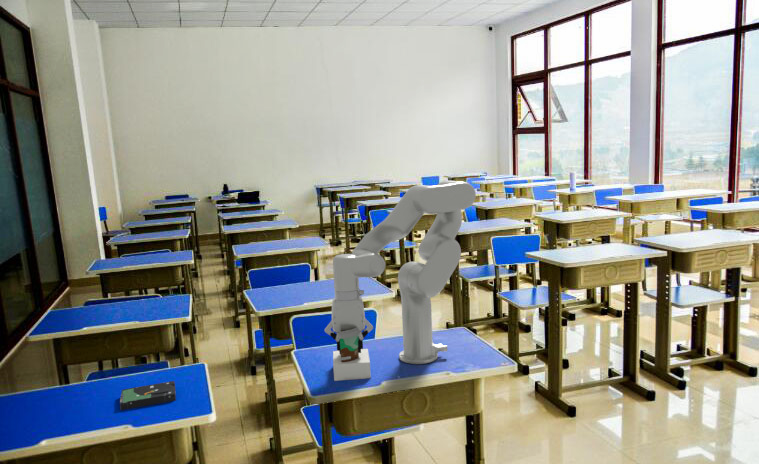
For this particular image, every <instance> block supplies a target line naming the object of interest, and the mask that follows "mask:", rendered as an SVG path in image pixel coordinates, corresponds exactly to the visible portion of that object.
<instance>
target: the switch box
mask: <svg viewBox="0 0 759 464" xmlns="http://www.w3.org/2000/svg"><path fill="white" fill-rule="evenodd" d="M332 359H333V360H332V362H333V364H332V365H333V380H334V382H337V381H338V382H339V381H350V380H351V381H352V380H363V379H371V377H372V374H371V361H370V353H369V349H368V348H363V349H361V353H359V357H358V359H355V360H353V361H349V362H341V354H340V352H339V351H337V350H335V351H334V350H333V351H332Z"/></svg>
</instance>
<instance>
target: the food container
mask: <svg viewBox="0 0 759 464" xmlns="http://www.w3.org/2000/svg"><path fill="white" fill-rule="evenodd" d="M358 334H360V331H359V329H358V328H357V327H356V328H355V329H352V330H341V331H339V339H340V350H341V362H349V361H353V360H355V359H357V358H358V357H359V349H358V341H359V336H358Z"/></svg>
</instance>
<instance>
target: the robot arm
mask: <svg viewBox="0 0 759 464" xmlns="http://www.w3.org/2000/svg"><path fill="white" fill-rule="evenodd" d="M476 195H477V194H476V190H475V188H474V187H473V185H472V184H470V183H469V182H466V181H457V180H443V181H440V182H438V184H437V185H423V184H416V185H415V184H414V185H413V186H410V188H409V189H408V190H406V192H405V194H404V195H403V196H402V197H401V198H400V200H399V201H397V202H398V203H396V205H395V206H394V208H393V209H392V210H391V212H389V214H388V215H387V216H386V217H385V218H384V219H383V220H382V221H381V222H380V223H378V224H377V225H376V226H374V227H373V228H372V229H371V230H369V231H368V232H367V233H366V234H365V235H364V236H363V237H362V239H360V241H359V242H358V243H357V245H356V246H355V248H354V249H353V251H351V253H340V254H336V255H334V257H333V259H332V269H333V286H334V298H333V299H332V301H331V320H330V322H329V323H328V324H327V326H326V327H325V328H324V333H326V334H327V335H329V336H330V337H331V338H332V339H333V340H334V341H335V342H336V351H339V352H340V354H341V350H340V339H339V331H341V330H352V329H355V328H356V327H357V328H358V329H359V331H360V334H358V336H359V341H358V349H359V353H361V349H364V344H363V342H364V341H363V340H364V339H365V338H366V337H367V335H368V334H369V333H370V332H371V331H372V330H373V329H374V326H373V324H372V323H370V322H369V320H367V318H366V316H365V315H366V314H365V307H364V306H365V305H364V301H363V298H362V295H365V290H364V289H361V288H360V279H359V278H376V277H379V276H380V275H382V274H383V272H384V271H385V269H386V261H385V259H384V258H383V257H382V256H381V255H380V252H381V251H382V249H385V247H386V246H388V245H390V244H391V243H394V242H397V241H400V240H402V239H404V238H405V237H407V236H408V235H409V234H410V233H411V231H412V230H413V229H414V227H415V225H416V224H417V223H418V222H419V221H420V219H421V218H422V217H423V215H424V214H427V215H436V216H435V219H434V220H433V223H432V224H431V226H430V228H429V229H428V231H427V232H426V234H425V235H424V237H423V238H422V240H421V242H420V244H419V245H418V255H419V257H420V258H421V259H422V260H424V261H425V262H426V263H425V264H424V263H421V262H418V261H409V262H405V263H404V264H403V265H402V266H401V267H400V268H399V271H398V274H397V282H398V288H399V292H400V293H399V294H400V298H401V299H400V300H401V320H402V340H403V341H402V342H403V350H402V351H400V352H399V354H398V359H399V360H400V361H401V362H402V363H406V364H410V365H424V364H429V363H432V362H435V361H436V360H438V357H439V354H438V353H440V352H443V353H444V352H448V345H443V344H442V343H438V344H436V343H434V341H433V320H432V319H433V318H432V300H431V298H434V297H436V296H438V295H439V293H441V291H442V290H443V289H444V287H445V286H446V284H447V283H448V281H449V279H450V278H451V276H452V275H453V273H454V271H455V270H456V269H457V266H458V264H459V263H460V260H461V255H462V249H461V246H460V243H459V242H458V241H457V240H456V237H457V234H458V233H459V231H460V229H461V227H462V221H463V216H462V215H463V214H462V210H465V209H468V208H470V207H472V205H473V204H474V203H475V201H476Z"/></svg>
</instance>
